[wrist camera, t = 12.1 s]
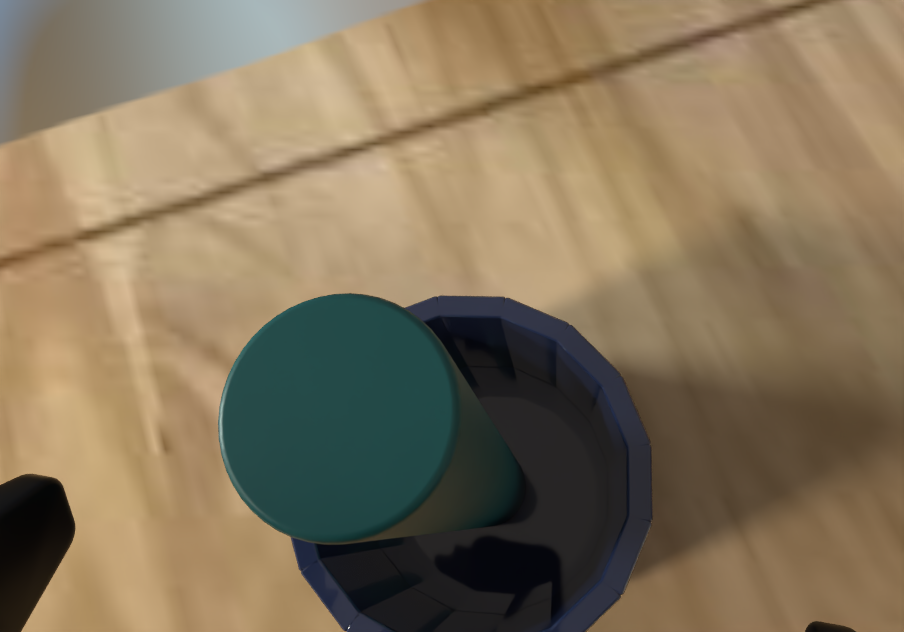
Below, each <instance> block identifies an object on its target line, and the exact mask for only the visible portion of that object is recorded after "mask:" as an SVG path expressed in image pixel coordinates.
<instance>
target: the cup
mask: <svg viewBox="0 0 904 632" xmlns="http://www.w3.org/2000/svg"><path fill="white" fill-rule="evenodd" d="M405 309H407V310H408V311H410V312H411V313H413V314H414V315H415V316H417V317H418V318H420V319H421V320H422V321H423V322H424V323H425V324H426V325H427V326H428V327H429V328H430V329H432V331H433V332H434V333H435V334H436V336H437V337H438V338H439V339H440V341H441V342H442V344H443V345H444V347H445V348H446V350H447V351H448V353H449V355H450V356H451V358H452V359H453V361H454V362H455V364H456V365H457V367H458V369H459V370H460V372H461V373H462V375H463V376H464V378H465V380H466V381H467V383H468V384H469V386H470V387H471V389H472V391H473V392H474V394H475V395H476V397H477V398H478V400H479V402H480V403H481V405H482V406H483V408H484V409H485V411H486V413H487V414H488V416H489V417H490V419H491V420H492V422H493V423H494V425H495V427H496V428H497V430H498V431H499V433H500V434H501V436H502V438H503V439H504V441H505V442H506V444H507V445H508V447H509V449H510V450H511V452H512V453H513V455H514V456H515V458H516V460H517V461H518V463H519V464H520V466H521V468H522V470H523V473H524V477H525V486H526V488H525V495H524V499H523V502H522V504H521V506H520V508H519V509H518V511H517V512H516V513H515V514H514V515H513V516H512V517H511V518H510V519H509V520H507V521H505V522H504V523H501V524H499V525H496V526H490V527H483V528H474V529H466V530H458V531H449V532H441V533H433V534H425V535H416V536H408V537H400V538H392V539H383V540H375V541H367V542H359V543H350V544H342V545H324V544H317V543H310V542H306V541H302V540H299V539H296V538H292V537H291V540H292V544H293V548H294V552H295V556H296V559H297V563H298V567H299V570H300V571H301V574H302V575H303V577H304V578H305V580H306V581H307V582H308V584H309V585H310V586H311V588H312V589H313V590H314V592H315V593H316V594H317V596H318V597H319V598H320V600H321V601H322V602H323V604H324V605H325V606H326V608H327V609H328V610H329V612H330V613H331V614H332V616H333V617H334V618H335V620H336V621H337V622H338V624H339V625H340V626H341V628H342V629H343V630H344V631H347V632H586V631H587V630H588V629H589V628H591V627H592V626H593V625H594V624H595V623H596V622H597V621H598V620H599V619H600V618H601V617H602V616H603V615H604V614H605V613H606V612H607V611H608V610H609V609H610V608H611V607H612V606H613V605H614V604H615V603H616V602H617V601H618V600H619V599H620V598H621V595H623V594H624V592H625V589H626V587H627V585H628V582H629V580H630V577H631V575H632V572H633V570H634V567H635V565H636V562H637V560H638V558H639V555H640V553H641V550H642V548H643V545H644V543H645V540H646V538H647V535H648V533H649V531H650V528H651V526H652V523H651V522H652V520H653V506H652V447H651V445H650V439H649V437H648V435H647V432H646V430H645V428H644V425H643V423H642V420H641V418H640V416H639V413H638V411H637V409H636V406H635V404H634V402H633V399H632V397H631V395H630V392H629V390H628V388H627V385H626V383H625V381H624V378H623V377H622V376H621V374H620V372H619V371H618V370H617V369H616V368H615V367H614V366H613V365H612V364H611V363H610V362H609V361H607V360H606V359H605V358H604V357H603V356H602V355H601V354H600V353H599V352H598V351H597V350H596V349H595V348H594V347H593V346H592V345H591V344H590V343H589V342H588V341H587V340H586V339H585V338H584V337H583V336H582V335H581V334H580V333H579V332H578V331H577V330H576V329H575V328H574V327H573V326H572V325H569V323H567V322H565V321H563V320H560V319H558V318H555V317H553V316H551V315H548V314H546V313H544V312H541V311H539V310H536V309H534V308H532V307H529V306H527V305H525V304H522V303H520V302H517V301H515V300H513V299H510V298H506V299H505V297H492V296H438V297H432V298H430V299H427V300H424V301H422V302H419V303H416V304H414V305H411V306H408V307H406V308H405Z"/></svg>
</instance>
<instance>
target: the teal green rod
mask: <svg viewBox="0 0 904 632" xmlns="http://www.w3.org/2000/svg"><path fill="white" fill-rule="evenodd" d="M218 429H219V442H220V448H221V454H222V458H223V461H224V464H225V468H226V471H227V473H228V475H229V478H230V480H231V482H232V484H233V486H234V488H235V489H236V491H237V492H238V494H239V495H240V497H241V499H242V500H243V501H244V502H245V503H246V505H247V506H248V507H249V508H250V509H251V510H252V512H254V513H255V514H256V515H257V516H258V517H259V518H260V519H262V520H263V521H264V522H265V523H267V524H268V525H270V526H271V527H273V528H274V529H276V530H277V531H279V532H282V533H284V534H286V535H288V536H290V537H292V538H296V539H299V540H302V541H306V542H310V543H317V544H324V545H342V544H350V543H359V542H367V541H375V540H383V539H392V538H400V537H408V536H416V535H425V534H433V533H441V532H449V531H458V530H466V529H474V528H483V527H490V526H496V525H499V524H501V523H504V522H505V521H507V520H509V519H510V518H511V517H512V516H513V515H514V514H515V513H516V512H517V511H518V509H519V508H520V506H521V504H522V502H523V499H524V495H525V488H526V486H525V477H524V473H523V470H522V468H521V466H520V464H519V463H518V461H517V460H516V458H515V456H514V455H513V453H512V452H511V450H510V449H509V447H508V445H507V444H506V442H505V441H504V439H503V438H502V436H501V434H500V433H499V431H498V430H497V428H496V427H495V425H494V423H493V422H492V420H491V419H490V417H489V416H488V414H487V413H486V411H485V409H484V408H483V406H482V405H481V403H480V402H479V400H478V398H477V397H476V395H475V394H474V392H473V391H472V389H471V387H470V386H469V384H468V383H467V381H466V380H465V378H464V376H463V375H462V373H461V372H460V370H459V369H458V367H457V365H456V364H455V362H454V361H453V359H452V358H451V356H450V355H449V353H448V351H447V350H446V348H445V347H444V345H443V344H442V342H441V341H440V339H439V338H438V337H437V336H436V334H435V333H434V332H433V331H432V329H430V328H429V327H428V326H427V325H426V324H425V323H424V322H423V321H422V320H421V319H420V318H418V317H417V316H415V315H414V314H413V313H411V312H410V311H408V310H407V309H405V308H403V307H401V306H399V305H397V304H395V303H393V302H390V301H387V300H385V299H382V298H378V297H374V296H369V295H363V294H351V293H349V294H333V295H327V296H322V297H318V298H314V299H311V300H308V301H305V302H302V303H300V304H298V305H296V306H293V307H291V308H289V309H287V310H286V311H284V312H282V313H281V314H279V315H277V316H276V317H275V318H273V319H272V320H271V321H269V322H268V323H267V324H266V325H264V326H263V327H262V328H261V329H260V330H259V331H258V332H257V333H256V334H255V335H254V336H253V337H252V338H251V340H250V341H249V342H248V343H247V345H246V346H245V347H244V348H243V350H242V351H241V353H240V355H239V356H238V358H237V359H236V361H235V363H234V365H233V367H232V369H231V371H230V373H229V375H228V378H227V381H226V384H225V387H224V390H223V393H222V398H221V403H220V408H219V420H218Z"/></svg>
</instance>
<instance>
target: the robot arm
mask: <svg viewBox="0 0 904 632" xmlns="http://www.w3.org/2000/svg"><path fill="white" fill-rule="evenodd" d="M74 534H75V521H74V518H73V515H72V512H71V509H70V506H69V503H68V500H67V497H66V494H65V491H64V488H63V485H62V484H61V482H60V481H59V480H57V479H56V478H52V477H47V476H42V475H36V474H25V475H21V476H19V477H17V478H15V479H12V480H10V481H8V482H6V483H4V484H2V485H0V632H21V631H22V629H23V627H24V625H25V624H26V622H27V620H28V618H29V617H30V615H31V613H32V611H33V610H34V608H35V606H36V604H37V603H38V601H39V599H40V598H41V596H42V594H43V592H44V591H45V589H46V587H47V585H48V584H49V582H50V580H51V578H52V577H53V575H54V573H55V571H56V570H57V568H58V566H59V564H60V563H61V561H62V559H63V557H64V556H65V554H66V552H67V550H68V549H69V547H70V545H71V543H72V541H73V538H74ZM805 632H856V631H854V630H853V629H851V628H849V627H846V626H841V625H835V624H830V623H825V622H819V621H814V622H812V623H810V624H809V625H808V627H807V628H806V630H805Z"/></svg>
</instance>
